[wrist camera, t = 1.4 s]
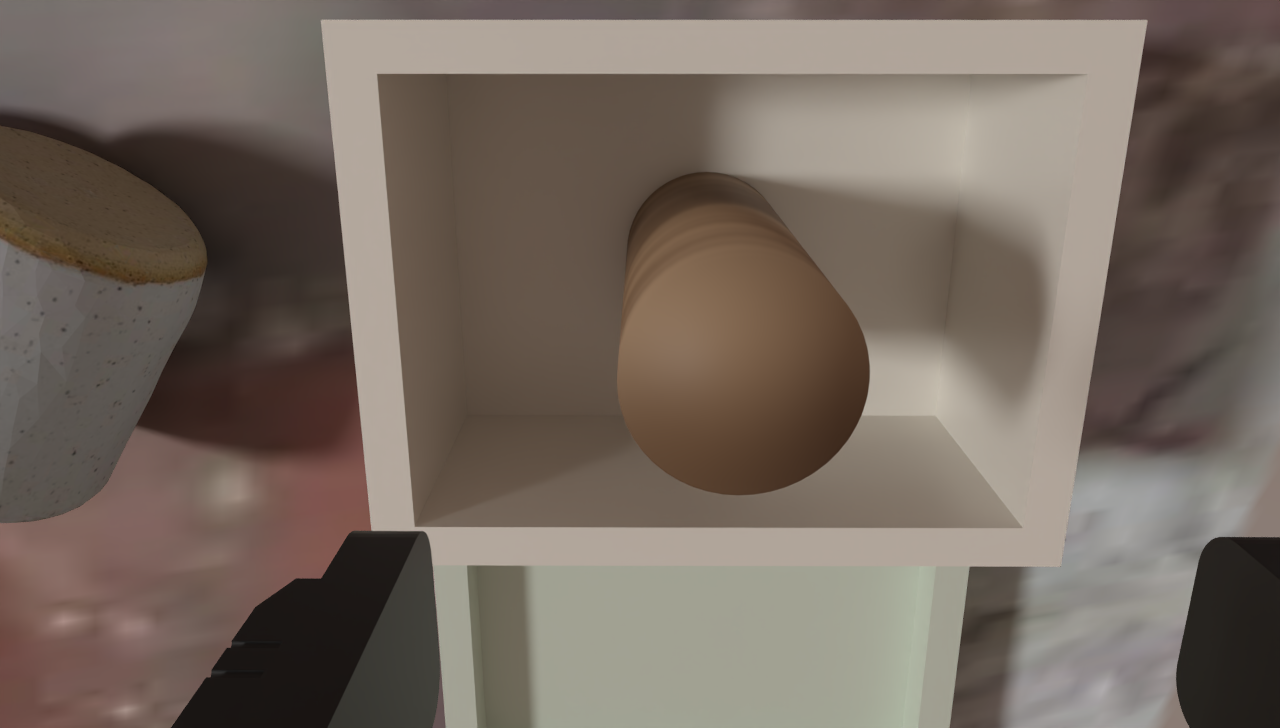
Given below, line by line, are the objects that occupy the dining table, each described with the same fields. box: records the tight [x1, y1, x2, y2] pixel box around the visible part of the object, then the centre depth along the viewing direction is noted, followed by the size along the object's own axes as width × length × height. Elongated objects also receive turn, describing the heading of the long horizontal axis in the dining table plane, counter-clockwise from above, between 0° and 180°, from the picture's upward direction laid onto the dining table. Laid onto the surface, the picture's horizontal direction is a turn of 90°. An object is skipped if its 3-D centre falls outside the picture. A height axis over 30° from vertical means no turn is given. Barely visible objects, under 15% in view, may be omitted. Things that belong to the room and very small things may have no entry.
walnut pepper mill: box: [617, 172, 870, 495], centre depth 22 cm, size 4×4×11 cm
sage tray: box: [433, 565, 970, 728], centre depth 31 cm, size 10×16×2 cm, turn 90°
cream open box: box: [321, 20, 1147, 567], centre depth 24 cm, size 12×16×8 cm
